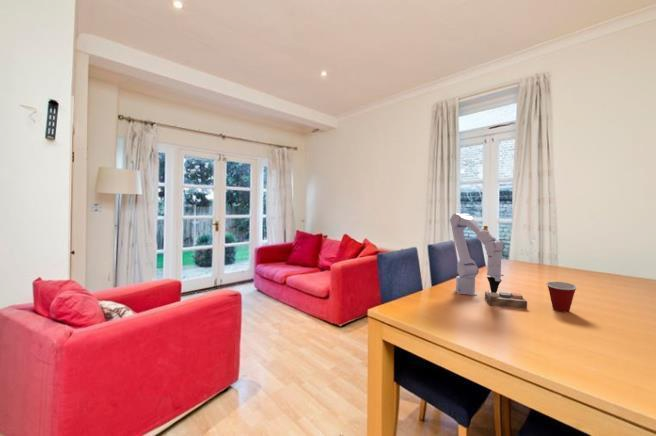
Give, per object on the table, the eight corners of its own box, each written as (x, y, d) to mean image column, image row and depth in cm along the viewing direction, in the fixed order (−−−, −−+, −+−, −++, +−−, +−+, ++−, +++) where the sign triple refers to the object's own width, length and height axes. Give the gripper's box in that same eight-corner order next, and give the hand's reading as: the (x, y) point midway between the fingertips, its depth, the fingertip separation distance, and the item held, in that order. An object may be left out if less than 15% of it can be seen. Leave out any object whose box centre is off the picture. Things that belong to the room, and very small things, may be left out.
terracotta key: (512, 301, 131) (512, 295, 131) (510, 299, 135) (510, 292, 135) (522, 302, 130) (522, 296, 130) (519, 300, 134) (519, 293, 134)
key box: (490, 305, 131) (490, 298, 131) (485, 298, 142) (485, 291, 142) (527, 309, 127) (527, 301, 126) (518, 301, 137) (519, 294, 137)
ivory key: (490, 299, 134) (490, 292, 134) (488, 296, 138) (488, 290, 138) (499, 300, 133) (499, 293, 133) (497, 297, 137) (497, 291, 137)
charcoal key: (501, 301, 133) (501, 294, 133) (499, 298, 137) (499, 292, 137) (510, 302, 132) (511, 295, 131) (508, 299, 135) (508, 293, 135)
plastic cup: (541, 308, 127) (541, 283, 126) (551, 304, 132) (551, 280, 132) (571, 316, 117) (571, 289, 117) (580, 311, 123) (581, 285, 123)
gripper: (508, 268, 127) (507, 297, 127) (499, 262, 141) (499, 288, 141) (490, 267, 129) (490, 295, 130) (484, 261, 143) (483, 287, 143)
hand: (493, 292), depth 136 cm, fingers closed, pressing on ivory key
